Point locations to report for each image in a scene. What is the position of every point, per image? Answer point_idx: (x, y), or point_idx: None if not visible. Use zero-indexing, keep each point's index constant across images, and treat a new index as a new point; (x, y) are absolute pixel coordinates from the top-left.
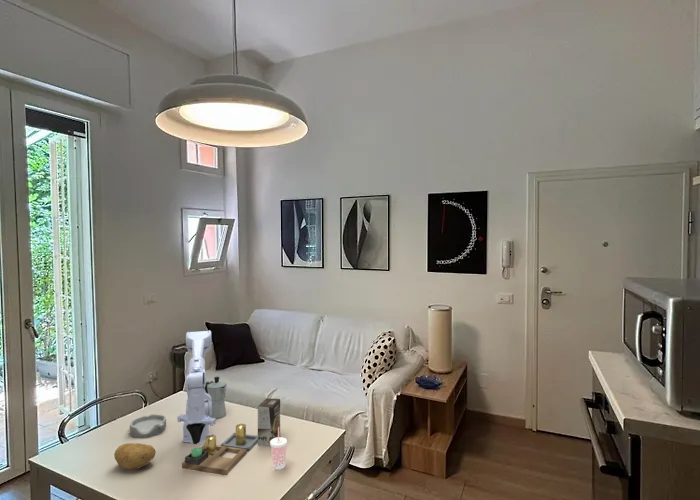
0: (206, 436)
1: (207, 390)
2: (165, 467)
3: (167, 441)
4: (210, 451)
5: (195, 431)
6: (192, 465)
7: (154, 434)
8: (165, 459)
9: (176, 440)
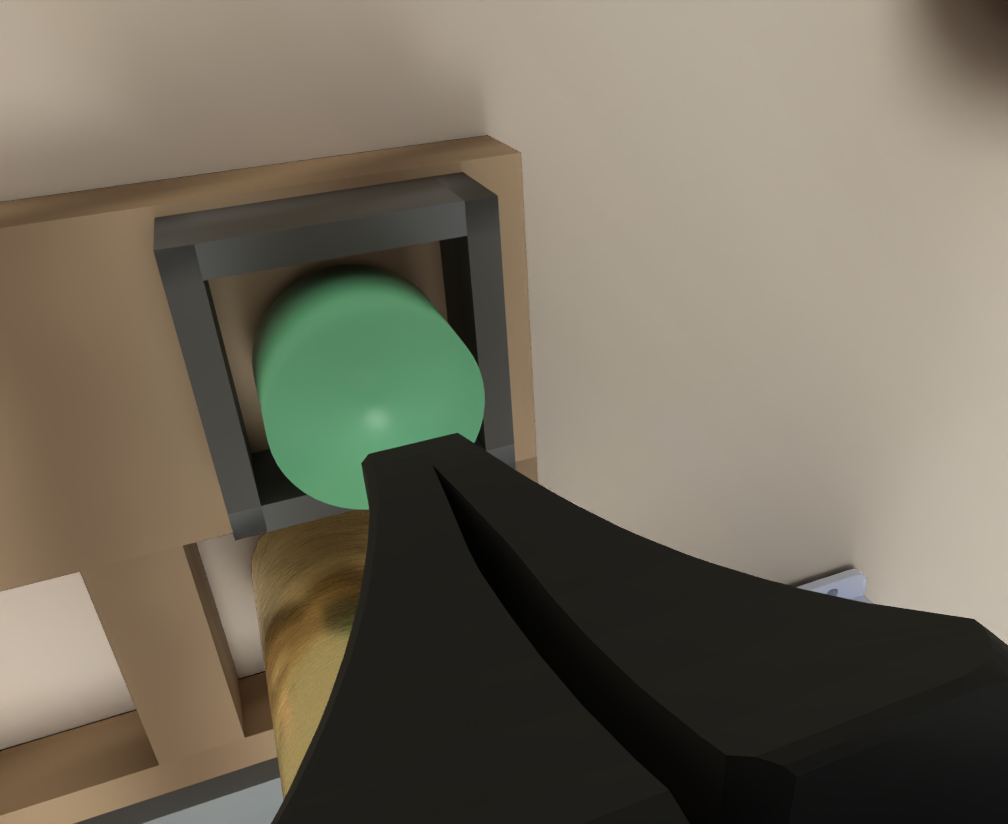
0: None
1: None
2: (740, 63)
3: (996, 499)
4: (290, 585)
5: (430, 713)
6: (290, 182)
7: None
8: (845, 227)
9: (921, 555)
